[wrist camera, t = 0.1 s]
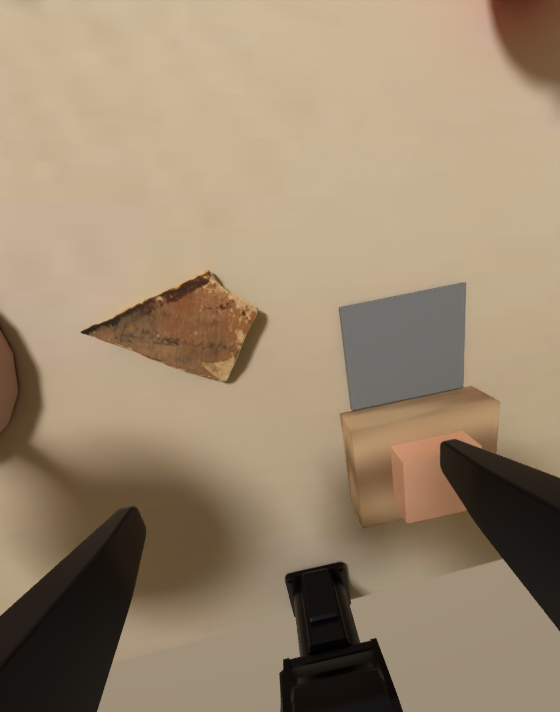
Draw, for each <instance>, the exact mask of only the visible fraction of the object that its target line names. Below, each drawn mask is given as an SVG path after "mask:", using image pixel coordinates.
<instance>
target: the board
mask: <svg viewBox="0 0 560 712" xmlns="http://www.w3.org/2000/svg"><path fill="white" fill-rule="evenodd" d="M499 409H500V401H498V400H496V399H495V398H493V397H491V396H489V395H487V394H485V393H484V392H482V391H480V390H478V389H476V388H474V387H472V386H469V387H465V388H460V389H455V390H450V391H446V392H441V393H436V394H431V395H427V396H422V397H417V398H412V399H408V400H403V401H398V402H393V403H389V404H384V405H379V406H374V407H369V408H365V409H360V410H355V411H350V412H346V413H341V414H340V417H341V424H342V432H343V440H344V447H345V455H346V462H347V470H348V477H349V485H350V492H351V500H352V503H353V506H354V508H355V510H356V513H357V515H358V518H359V520H360V523H361V525H362V527H363V528H366V527H371V526H375V525H380V524H384V523H389V522H394V521H398V520H403V518H402V516H401V514H400V512H399V511H398V509H397V507H396V506H395V504H394V491H393V477H392V462H391V448H390V446H395V445H399V444H404V443H409V442H413V441H418V440H423V439H427V438H432V437H437V436H441V435H446V434H451V433H455V432H460V431H463V432H465V433H466V434H467V435H468V436H470V437H471V438H472V439H474V440H475V441H476V442H477V443H479V444H480V445H481V446H482V449H484V450H487V451H489V452H492V453H495V454H496V449H497V436H498V422H499Z"/></svg>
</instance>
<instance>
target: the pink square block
mask: <svg viewBox="0 0 560 712" xmlns="http://www.w3.org/2000/svg"><path fill="white" fill-rule="evenodd" d="M451 439H457V440H460V441H463V442H465V443H468V444H471V445H473V446H476V447H479V448H481V449H482V446H481V445H480V444H479V443H477V442H476V441H475V440H474V439H472V438H471V437H470V436H468V435H467V434H466V433H465V432H463V431H460V432H455V433H451V434H446V435H441V436H437V437H432V438H427V439H423V440H418V441H413V442H409V443H404V444H399V445H395V446H390V448H391V462H392V477H393V491H394V504H395V506H396V507H397V509H398V511H399V512H400V514H401V516H402V518H403V519H404V521H405V523H406V524H409V523H413V522H418V521H422V520H427V519H432V518H436V517H441V516H445V515H450V514H454V513H459V512H463V511H467V509H466V508H465V506H464V505H463V503H462V502H461V500H460V499H459V497H458V496H457V494H456V492H455V491H454V489H453V488H452V486H451V485H450V483H449V482H448V480H447V479H446V477H445V475H444V474H443V472H442V470H441V467H440V444H441V442H442V441H446V440H451Z"/></svg>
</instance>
